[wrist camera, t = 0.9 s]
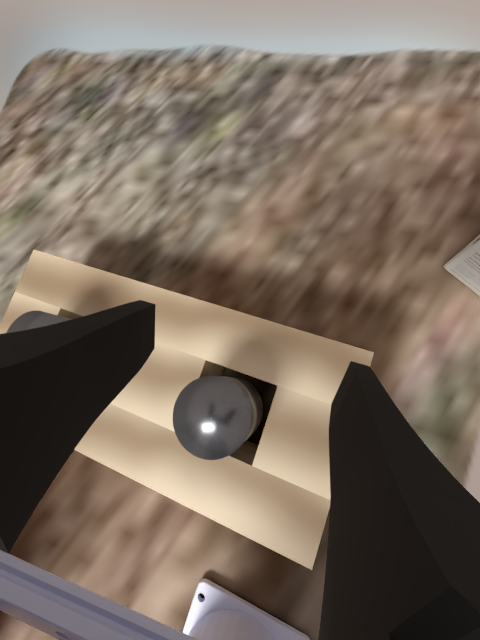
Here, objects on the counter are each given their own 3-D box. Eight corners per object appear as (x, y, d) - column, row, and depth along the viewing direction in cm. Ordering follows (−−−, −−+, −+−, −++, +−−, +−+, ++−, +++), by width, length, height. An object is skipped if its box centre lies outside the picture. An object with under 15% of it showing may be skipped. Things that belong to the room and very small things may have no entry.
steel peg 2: (251, 452, 19) (234, 473, 14) (193, 427, 20) (161, 440, 15) (271, 389, 19) (260, 391, 15) (214, 368, 20) (188, 365, 16)
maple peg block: (310, 526, 21) (311, 570, 16) (27, 393, 27) (-32, 396, 23) (359, 358, 22) (374, 352, 17) (79, 271, 29) (33, 249, 24)
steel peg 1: (95, 385, 22) (42, 386, 17) (53, 367, 23) (-8, 364, 18) (116, 333, 22) (69, 321, 18) (73, 317, 23) (19, 302, 19)
